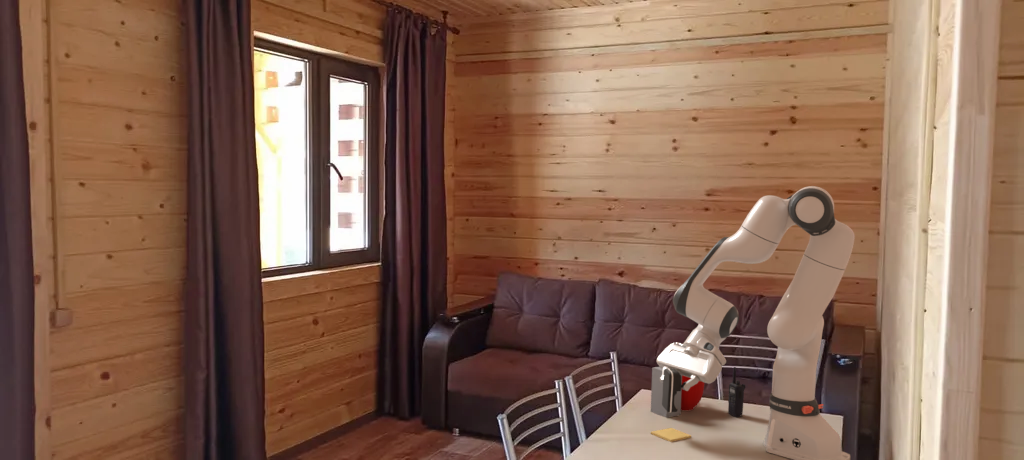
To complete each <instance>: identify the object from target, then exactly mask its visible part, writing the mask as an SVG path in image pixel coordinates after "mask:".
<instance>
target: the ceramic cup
mask: <svg viewBox="0 0 1024 460" xmlns="http://www.w3.org/2000/svg"><path fill="white" fill-rule="evenodd" d="M690 379H691V378H689V377H686V376H683V375H682V384H683V382H687V381H689V380H690ZM705 384H706V383H705V382H701V381H699V382H698V383H697V384H695V385H694V386H692V387H690V389H689V390H688V391H685V390H683V389H682V390H681V412H682V411H683V412H685V411H687V412H688V411H692V410H694V408H696V407H697V406H698V405H699V403H700V401H701V400H702V398H703V395H704V389H705Z"/></svg>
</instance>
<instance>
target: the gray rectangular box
mask: <svg viewBox="0 0 1024 460" xmlns="http://www.w3.org/2000/svg"><path fill="white" fill-rule="evenodd" d="M651 369H652V370H651V390H650V391H651V393H650V412H651V413H653V414H656V415H659V416H662V417H663V418H671V416H672V417H675V416H677V417H678V416H681V412H682V410H681V391H677V394H676V395H675V397H674V405H675V407H676V408H677V409H678V411H677V412H667V411H666V410H665V408H664V407H663V406H662V396H663V383H662V382H661V381H660V377H661V376H662V371H663V369H662V368H660V366H655V367H652V368H651ZM681 385H682V375H681ZM681 390H682V388H681Z"/></svg>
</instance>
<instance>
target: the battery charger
mask: <svg viewBox="0 0 1024 460" xmlns="http://www.w3.org/2000/svg"><path fill="white" fill-rule="evenodd" d="M677 391H681V374H680V373H679V372H678V371H677V370H676V369H669V368H667V369H664V375H663V396H662V406H663V407H664V408H665V410H666V411H667V412H677V411H678V409H677V408H676V407H675V405H674V397H675V395H676V394H677Z"/></svg>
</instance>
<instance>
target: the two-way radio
mask: <svg viewBox="0 0 1024 460" xmlns="http://www.w3.org/2000/svg"><path fill="white" fill-rule="evenodd" d="M745 389H746V384H744V383H741V382H740V380H738V379H737V367H736V366H734V367H733V371H732V382H730V383H729V385H728V408H727V409H728V411H727V413H728V414H730V415H731V416H733V417H735V418H739V417H742V416H743V413H744V412H743V410H744V398H745V396H744V395H745V393H744V392H745Z"/></svg>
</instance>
